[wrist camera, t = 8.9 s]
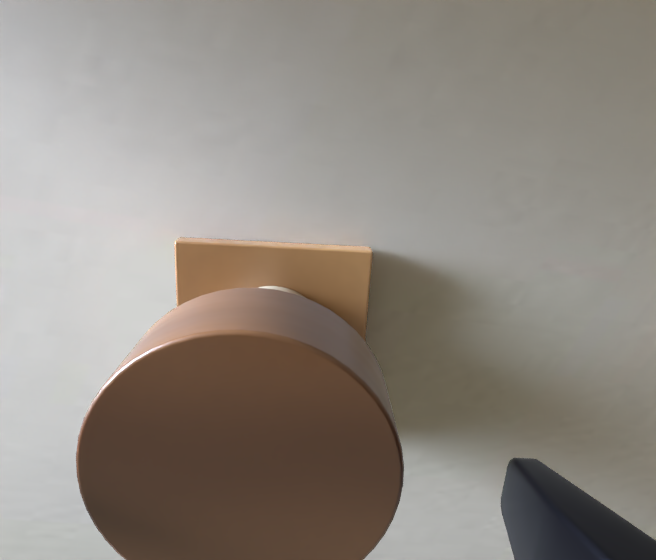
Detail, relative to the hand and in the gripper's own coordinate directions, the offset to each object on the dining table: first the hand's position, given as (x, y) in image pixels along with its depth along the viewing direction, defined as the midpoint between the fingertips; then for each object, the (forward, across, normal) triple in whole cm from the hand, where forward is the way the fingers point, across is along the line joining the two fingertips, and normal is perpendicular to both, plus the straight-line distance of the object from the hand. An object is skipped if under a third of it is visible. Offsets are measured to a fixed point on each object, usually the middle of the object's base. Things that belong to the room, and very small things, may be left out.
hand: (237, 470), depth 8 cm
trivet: (+6, 0, 0) cm, 6 cm away
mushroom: (+5, 0, 0) cm, 5 cm away
